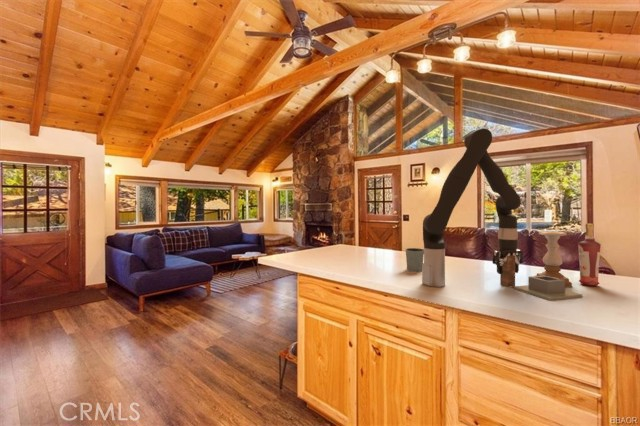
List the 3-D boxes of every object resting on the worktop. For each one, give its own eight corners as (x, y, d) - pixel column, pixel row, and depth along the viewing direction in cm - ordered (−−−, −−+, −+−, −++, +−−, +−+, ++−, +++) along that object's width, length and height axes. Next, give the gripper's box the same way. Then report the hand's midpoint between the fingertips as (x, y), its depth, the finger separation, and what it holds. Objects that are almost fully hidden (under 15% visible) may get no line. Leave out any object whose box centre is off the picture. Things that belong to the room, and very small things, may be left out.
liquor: (604, 287, 125) (604, 224, 124) (582, 286, 127) (583, 224, 126) (594, 283, 132) (595, 223, 131) (574, 282, 134) (575, 223, 133)
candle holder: (560, 280, 137) (561, 231, 136) (572, 287, 127) (573, 233, 126) (533, 279, 141) (534, 231, 140) (543, 285, 130) (543, 233, 130)
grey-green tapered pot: (416, 267, 170) (416, 247, 170) (428, 271, 161) (427, 250, 160) (402, 269, 167) (401, 248, 167) (412, 272, 157) (412, 251, 157)
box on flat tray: (549, 300, 110) (550, 285, 110) (513, 288, 125) (513, 275, 125) (582, 296, 113) (582, 282, 113) (542, 286, 129) (543, 272, 129)
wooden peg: (507, 286, 128) (507, 256, 128) (500, 284, 132) (500, 254, 132) (515, 286, 129) (515, 255, 129) (507, 283, 133) (507, 254, 133)
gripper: (501, 239, 125) (501, 276, 125) (528, 238, 128) (528, 274, 128) (488, 237, 132) (488, 272, 133) (513, 236, 135) (513, 270, 136)
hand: (507, 273), depth 131 cm, fingers open, 8 cm apart
